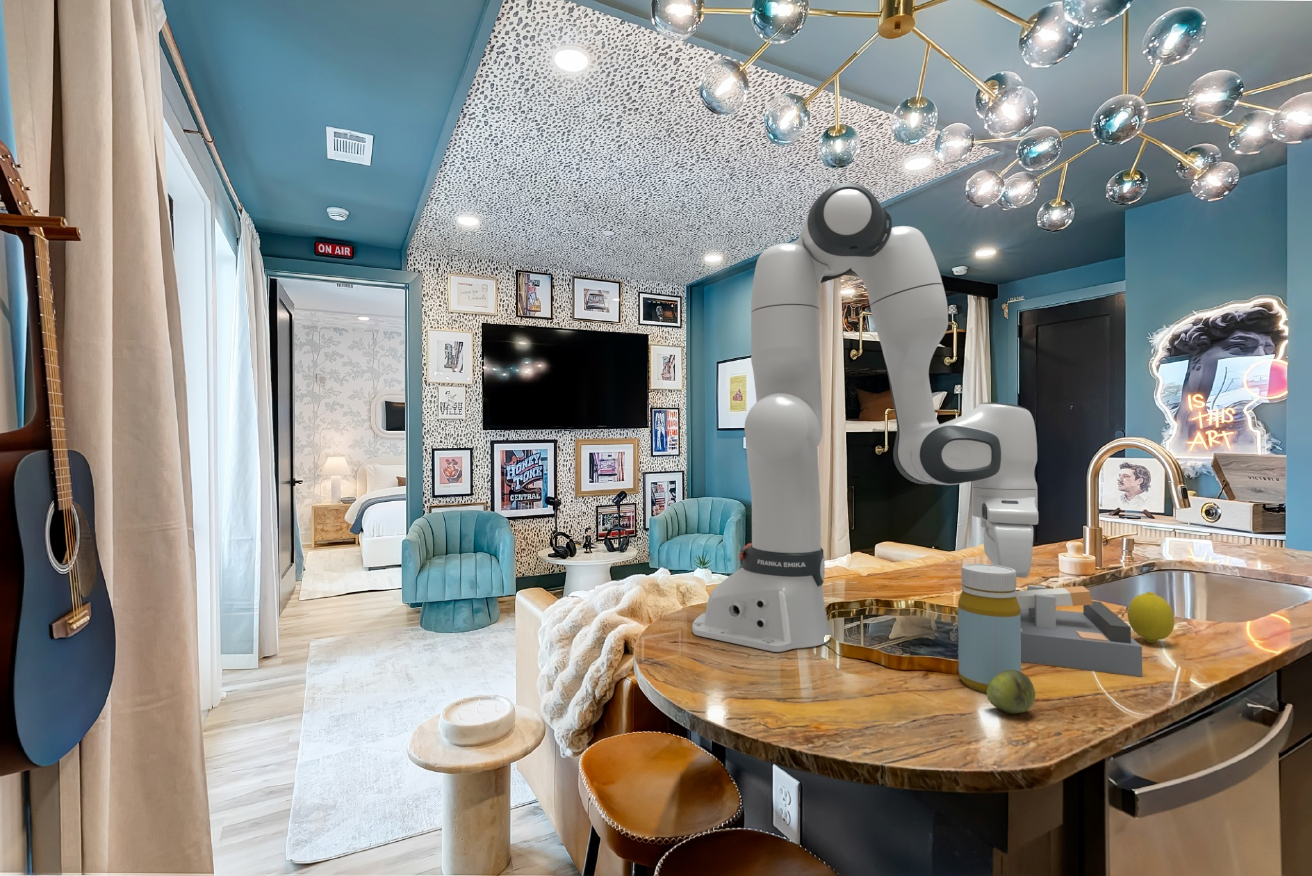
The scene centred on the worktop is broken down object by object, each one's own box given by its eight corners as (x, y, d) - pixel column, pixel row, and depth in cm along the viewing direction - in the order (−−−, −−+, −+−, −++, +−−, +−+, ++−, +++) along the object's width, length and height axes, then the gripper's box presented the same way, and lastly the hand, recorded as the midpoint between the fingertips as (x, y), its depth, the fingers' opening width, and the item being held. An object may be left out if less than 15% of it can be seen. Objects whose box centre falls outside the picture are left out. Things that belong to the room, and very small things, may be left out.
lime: (982, 711, 68) (982, 668, 68) (1000, 700, 71) (1000, 659, 71) (1025, 726, 64) (1024, 680, 65) (1042, 713, 67) (1041, 670, 67)
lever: (999, 610, 90) (997, 598, 90) (996, 603, 94) (993, 591, 94) (1093, 605, 85) (1090, 591, 85) (1085, 598, 89) (1082, 585, 89)
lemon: (1182, 651, 88) (1181, 597, 88) (1137, 646, 89) (1136, 594, 90) (1163, 639, 93) (1163, 588, 93) (1121, 635, 95) (1121, 586, 95)
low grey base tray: (972, 655, 86) (971, 596, 86) (963, 624, 101) (963, 574, 101) (1142, 676, 78) (1141, 612, 78) (1105, 639, 93) (1105, 585, 93)
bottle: (1030, 698, 71) (1029, 575, 72) (968, 693, 73) (967, 573, 73) (1008, 676, 78) (1007, 564, 78) (952, 672, 80) (951, 562, 80)
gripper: (974, 500, 102) (974, 579, 102) (989, 511, 84) (989, 608, 83) (1016, 501, 100) (1016, 582, 100) (1041, 513, 81) (1041, 614, 81)
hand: (1004, 594), depth 91 cm, fingers closed, pressing on lever
